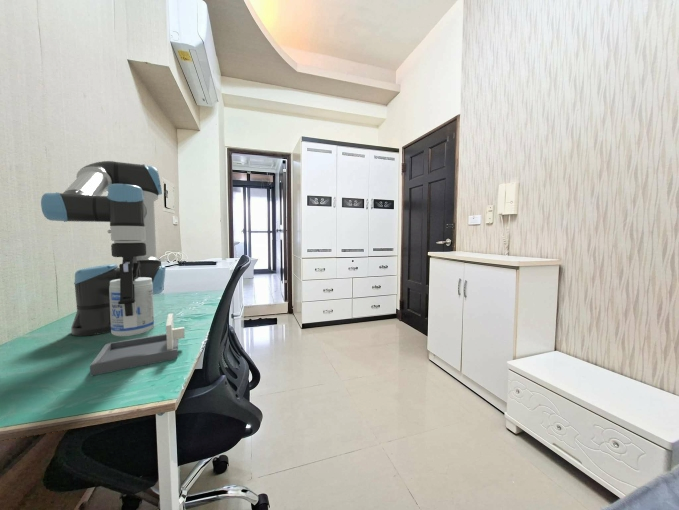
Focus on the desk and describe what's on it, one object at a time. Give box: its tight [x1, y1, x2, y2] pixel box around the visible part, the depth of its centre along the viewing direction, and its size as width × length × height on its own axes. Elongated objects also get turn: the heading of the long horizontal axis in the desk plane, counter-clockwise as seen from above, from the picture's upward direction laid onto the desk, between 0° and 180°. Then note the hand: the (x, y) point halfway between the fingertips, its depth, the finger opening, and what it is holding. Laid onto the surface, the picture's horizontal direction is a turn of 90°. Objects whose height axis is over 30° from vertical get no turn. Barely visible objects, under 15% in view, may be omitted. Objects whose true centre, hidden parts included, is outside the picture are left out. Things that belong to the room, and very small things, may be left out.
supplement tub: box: [109, 277, 155, 337], centre depth 74 cm, size 10×10×15 cm
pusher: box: [165, 313, 186, 350], centre depth 80 cm, size 13×4×8 cm, turn 30°
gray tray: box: [89, 333, 179, 377], centre depth 76 cm, size 16×18×2 cm
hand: (133, 322), depth 75 cm, fingers closed on supplement tub, 9 cm apart
